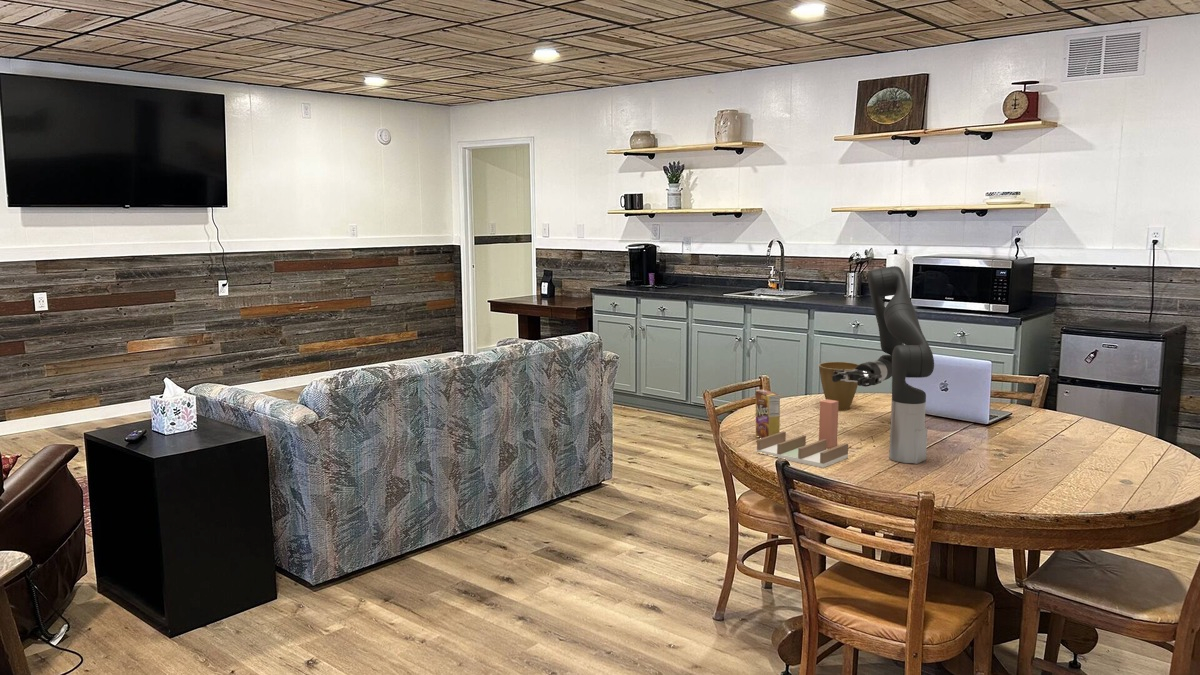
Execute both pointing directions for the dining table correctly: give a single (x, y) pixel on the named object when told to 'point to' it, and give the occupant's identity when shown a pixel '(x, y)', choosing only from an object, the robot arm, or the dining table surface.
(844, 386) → the plant pot
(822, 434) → the slim block
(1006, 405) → the dining table surface
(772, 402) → the candy box
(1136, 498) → the dining table surface
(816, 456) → the comb rack
